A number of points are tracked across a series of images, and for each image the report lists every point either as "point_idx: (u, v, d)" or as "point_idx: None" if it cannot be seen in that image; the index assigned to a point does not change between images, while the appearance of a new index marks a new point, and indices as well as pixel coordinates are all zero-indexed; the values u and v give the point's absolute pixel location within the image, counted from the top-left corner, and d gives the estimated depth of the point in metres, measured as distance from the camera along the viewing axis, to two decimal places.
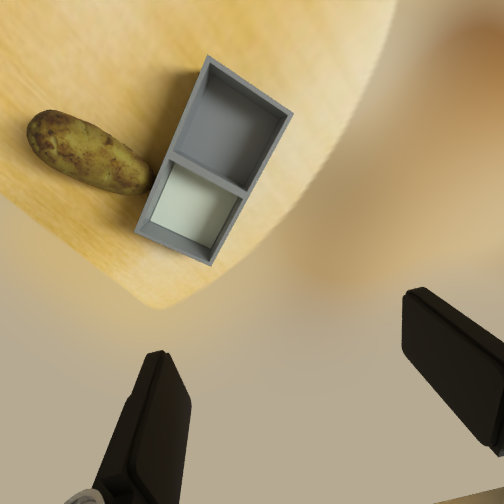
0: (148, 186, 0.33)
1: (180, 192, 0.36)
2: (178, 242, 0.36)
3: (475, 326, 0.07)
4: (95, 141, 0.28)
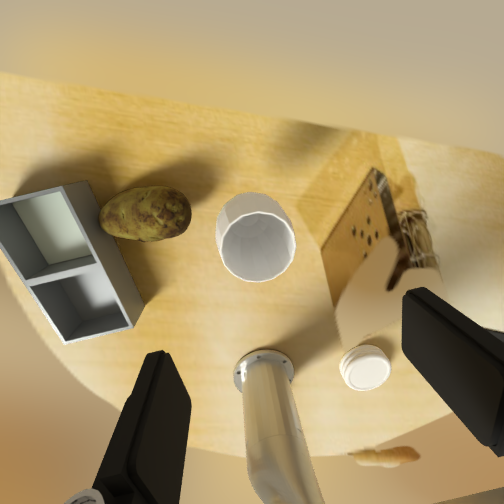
0: (99, 223, 0.35)
1: None
2: None
3: (475, 326, 0.07)
4: (144, 237, 0.34)
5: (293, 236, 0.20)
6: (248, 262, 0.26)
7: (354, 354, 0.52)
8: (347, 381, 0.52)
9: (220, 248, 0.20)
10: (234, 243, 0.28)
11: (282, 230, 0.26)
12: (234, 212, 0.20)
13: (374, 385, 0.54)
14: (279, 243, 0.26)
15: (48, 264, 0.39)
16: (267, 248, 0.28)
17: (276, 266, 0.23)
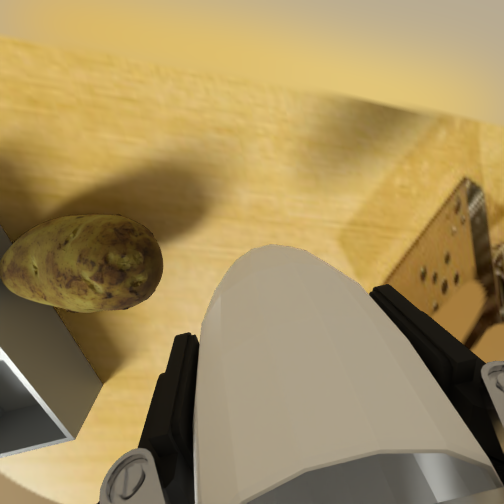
0: (1, 279, 0.20)
1: None
2: None
3: (426, 320, 0.08)
4: (74, 308, 0.18)
5: None
6: None
7: None
8: None
9: None
10: None
11: None
12: (257, 397, 0.05)
13: None
14: None
15: None
16: None
17: (375, 496, 0.08)
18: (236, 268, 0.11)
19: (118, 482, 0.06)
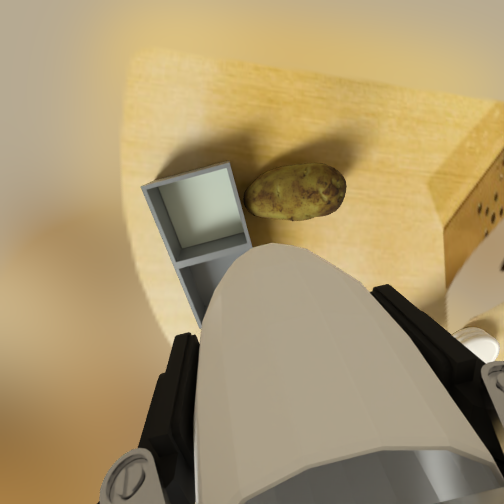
0: (246, 203, 0.35)
1: (222, 211, 0.37)
2: None
3: (426, 320, 0.08)
4: (299, 215, 0.33)
5: None
6: None
7: (462, 337, 0.51)
8: None
9: None
10: None
11: None
12: (258, 394, 0.05)
13: None
14: None
15: (182, 248, 0.39)
16: None
17: (376, 495, 0.08)
18: (237, 266, 0.11)
19: (118, 482, 0.06)
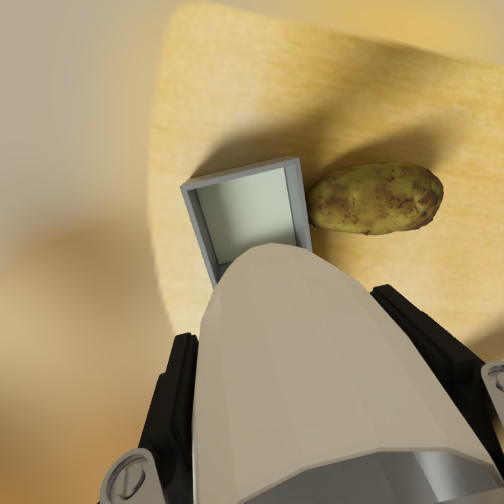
0: (307, 211, 0.27)
1: (272, 219, 0.30)
2: None
3: (426, 320, 0.08)
4: (379, 228, 0.26)
5: None
6: None
7: None
8: None
9: None
10: None
11: None
12: (256, 395, 0.05)
13: None
14: None
15: (218, 263, 0.31)
16: None
17: (375, 495, 0.08)
18: (236, 266, 0.11)
19: (118, 482, 0.06)
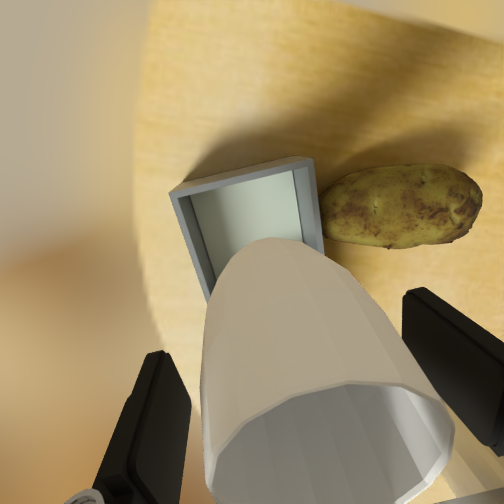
0: None
1: (278, 228, 0.26)
2: None
3: (475, 326, 0.07)
4: (404, 242, 0.22)
5: (450, 435, 0.06)
6: None
7: None
8: None
9: (208, 477, 0.06)
10: None
11: None
12: (255, 350, 0.06)
13: None
14: None
15: (216, 279, 0.27)
16: None
17: (358, 452, 0.09)
18: (238, 256, 0.12)
19: None
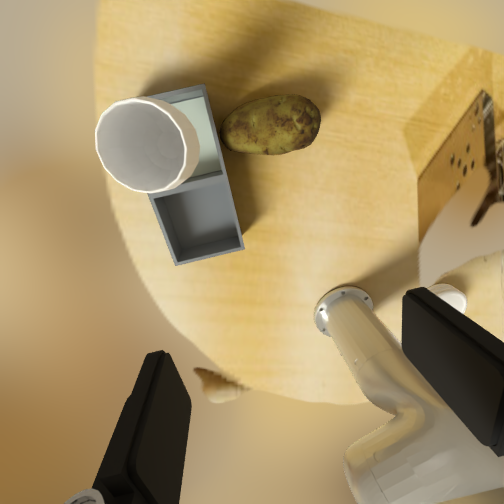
0: (222, 135, 0.35)
1: None
2: (163, 100, 0.32)
3: (475, 326, 0.07)
4: (273, 146, 0.33)
5: (181, 134, 0.18)
6: (157, 185, 0.23)
7: (432, 291, 0.53)
8: None
9: (96, 146, 0.17)
10: (149, 171, 0.26)
11: None
12: None
13: None
14: None
15: None
16: None
17: None
18: None
19: None
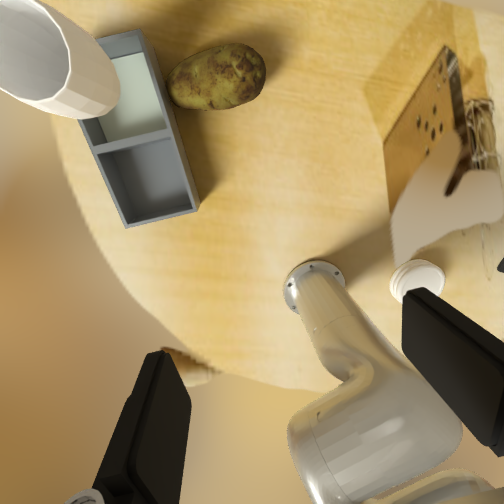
0: (167, 89, 0.34)
1: (148, 103, 0.36)
2: None
3: (475, 326, 0.07)
4: (217, 97, 0.32)
5: (62, 33, 0.17)
6: None
7: (407, 267, 0.50)
8: (400, 295, 0.51)
9: None
10: None
11: None
12: None
13: None
14: None
15: None
16: None
17: None
18: None
19: None
